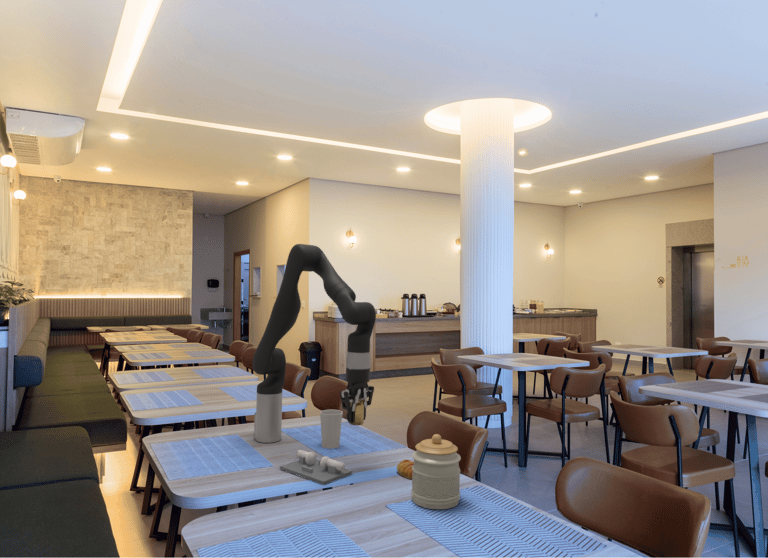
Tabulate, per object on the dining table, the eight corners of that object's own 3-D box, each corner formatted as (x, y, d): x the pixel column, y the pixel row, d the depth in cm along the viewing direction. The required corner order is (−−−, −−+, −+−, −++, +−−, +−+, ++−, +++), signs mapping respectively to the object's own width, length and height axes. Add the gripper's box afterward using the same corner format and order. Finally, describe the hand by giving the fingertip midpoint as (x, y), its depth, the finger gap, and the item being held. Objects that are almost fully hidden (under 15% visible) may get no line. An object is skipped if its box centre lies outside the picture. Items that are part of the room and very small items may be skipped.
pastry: (429, 479, 160) (429, 466, 160) (409, 483, 157) (410, 469, 157) (412, 469, 168) (412, 457, 168) (393, 472, 165) (394, 460, 165)
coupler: (346, 423, 166) (347, 402, 167) (355, 420, 170) (356, 400, 170) (356, 426, 164) (357, 404, 164) (366, 423, 167) (367, 402, 167)
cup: (343, 443, 194) (344, 410, 194) (339, 450, 186) (340, 415, 186) (321, 442, 195) (322, 409, 195) (317, 448, 187) (317, 414, 187)
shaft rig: (279, 469, 165) (280, 452, 165) (308, 460, 174) (309, 444, 174) (323, 484, 153) (324, 467, 153) (352, 474, 162) (352, 457, 162)
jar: (403, 494, 147) (404, 430, 147) (444, 488, 152) (445, 426, 152) (425, 513, 135) (426, 443, 135) (469, 506, 140) (470, 438, 140)
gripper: (364, 362, 175) (362, 415, 175) (333, 367, 164) (331, 423, 164) (381, 365, 170) (380, 419, 170) (351, 370, 159) (349, 428, 159)
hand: (356, 421), depth 167 cm, fingers closed on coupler, 4 cm apart
